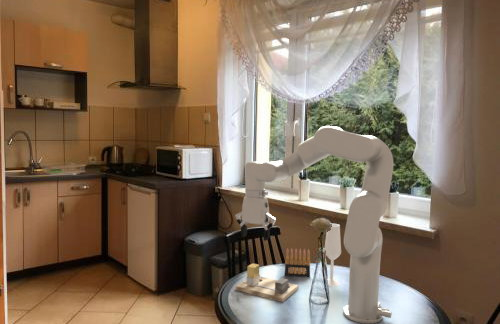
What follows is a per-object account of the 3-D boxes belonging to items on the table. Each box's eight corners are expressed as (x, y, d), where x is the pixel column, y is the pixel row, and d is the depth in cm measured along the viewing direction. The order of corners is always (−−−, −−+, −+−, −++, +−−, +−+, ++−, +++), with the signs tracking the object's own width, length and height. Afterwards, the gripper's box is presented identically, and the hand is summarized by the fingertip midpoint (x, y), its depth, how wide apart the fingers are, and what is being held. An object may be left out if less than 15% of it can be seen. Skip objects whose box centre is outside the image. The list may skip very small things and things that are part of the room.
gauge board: (298, 288, 153) (298, 275, 153) (282, 301, 141) (283, 286, 140) (253, 278, 163) (253, 265, 162) (235, 289, 151) (235, 275, 150)
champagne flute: (336, 279, 164) (338, 222, 162) (342, 286, 157) (344, 226, 155) (320, 280, 163) (322, 223, 161) (326, 286, 156) (328, 227, 154)
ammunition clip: (309, 275, 168) (310, 248, 167) (310, 277, 166) (310, 249, 165) (284, 274, 169) (285, 246, 168) (284, 276, 167) (285, 248, 166)
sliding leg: (263, 279, 157) (264, 262, 157) (253, 286, 150) (253, 268, 149) (257, 277, 159) (257, 260, 158) (246, 284, 151) (246, 266, 151)
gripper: (279, 194, 149) (279, 238, 150) (240, 191, 158) (240, 233, 159) (271, 196, 142) (270, 243, 144) (230, 193, 151) (230, 237, 152)
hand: (255, 238), depth 151 cm, fingers open, 9 cm apart
